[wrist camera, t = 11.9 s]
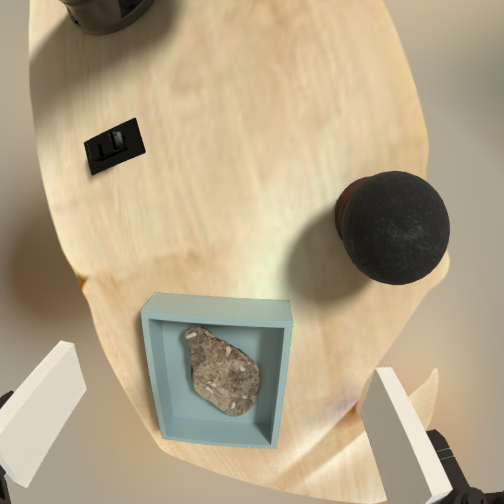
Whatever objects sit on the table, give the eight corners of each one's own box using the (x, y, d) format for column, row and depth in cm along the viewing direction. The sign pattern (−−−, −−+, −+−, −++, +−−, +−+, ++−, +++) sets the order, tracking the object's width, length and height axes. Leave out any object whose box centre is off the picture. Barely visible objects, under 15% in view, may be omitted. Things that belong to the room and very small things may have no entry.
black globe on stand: (308, 206, 42) (333, 228, 27) (381, 151, 39) (436, 147, 25) (360, 278, 44) (399, 327, 30) (426, 225, 42) (485, 252, 27)
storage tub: (155, 292, 46) (140, 311, 39) (289, 300, 45) (293, 321, 39) (170, 415, 52) (162, 438, 46) (275, 423, 52) (276, 448, 46)
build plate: (87, 183, 42) (71, 186, 38) (75, 140, 40) (59, 139, 36) (157, 154, 41) (146, 153, 36) (144, 107, 39) (132, 102, 34)
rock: (284, 384, 48) (285, 398, 45) (236, 412, 50) (234, 426, 47) (205, 309, 45) (201, 320, 41) (159, 345, 47) (152, 357, 44)
